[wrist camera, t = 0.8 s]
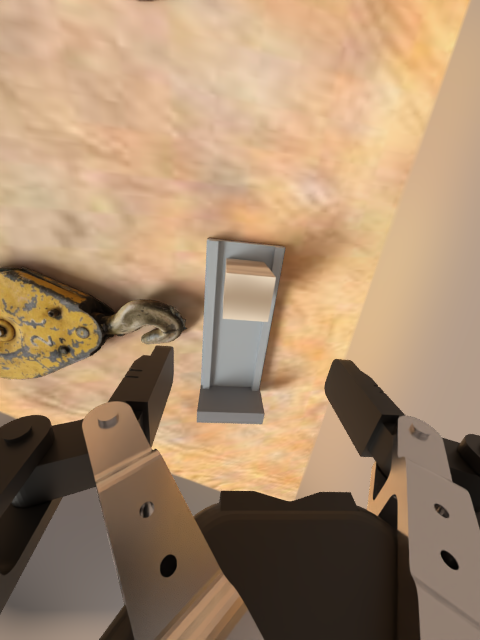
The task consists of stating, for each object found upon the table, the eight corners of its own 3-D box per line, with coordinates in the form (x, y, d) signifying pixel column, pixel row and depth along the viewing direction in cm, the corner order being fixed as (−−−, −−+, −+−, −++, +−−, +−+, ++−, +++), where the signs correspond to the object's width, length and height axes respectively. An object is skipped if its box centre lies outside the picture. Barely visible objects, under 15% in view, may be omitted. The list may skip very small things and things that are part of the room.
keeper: (226, 258, 26) (226, 272, 19) (263, 261, 26) (276, 277, 20) (223, 294, 27) (222, 318, 21) (258, 297, 28) (268, 321, 22)
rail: (207, 238, 26) (202, 244, 20) (283, 246, 27) (298, 254, 21) (201, 389, 36) (196, 422, 30) (256, 391, 37) (262, 424, 31)
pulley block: (184, 388, 27) (-81, 393, 26) (191, 365, 33) (-26, 368, 31) (176, 271, 23) (-138, 267, 22) (186, 268, 29) (-63, 264, 27)
